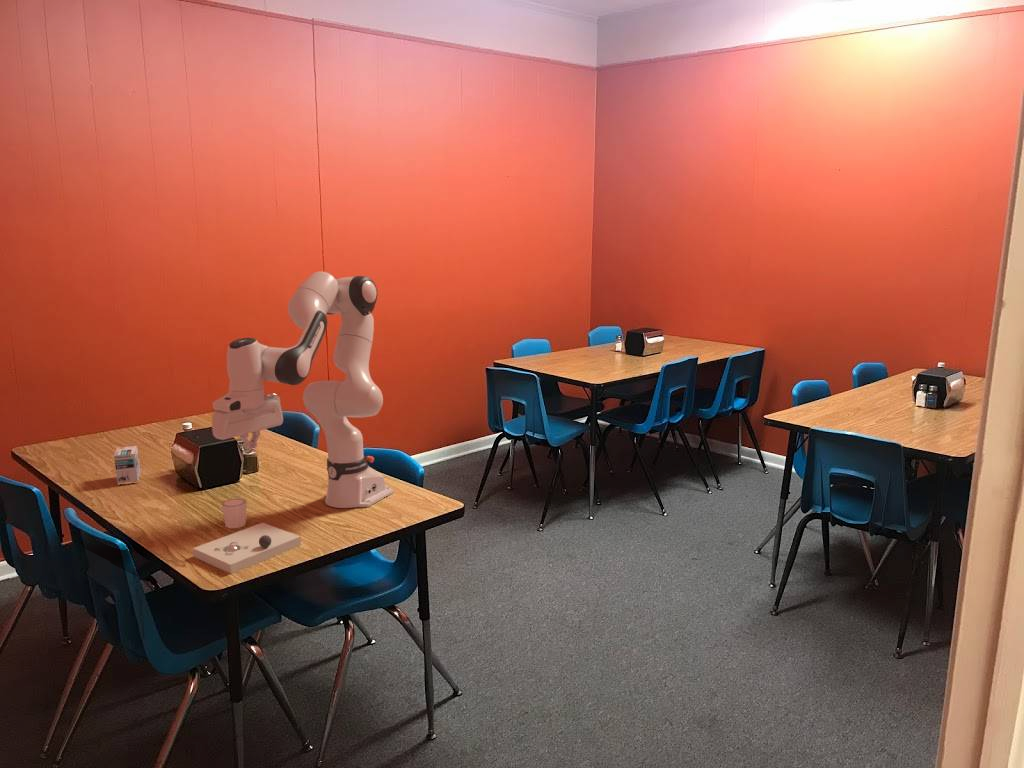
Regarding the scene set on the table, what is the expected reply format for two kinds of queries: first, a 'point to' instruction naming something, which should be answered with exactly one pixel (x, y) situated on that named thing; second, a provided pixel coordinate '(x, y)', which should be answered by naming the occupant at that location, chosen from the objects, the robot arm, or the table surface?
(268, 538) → the black rubber ball
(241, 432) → the robot arm
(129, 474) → the light bulb box
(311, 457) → the table surface
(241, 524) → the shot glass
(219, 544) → the board
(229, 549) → the steel ball
